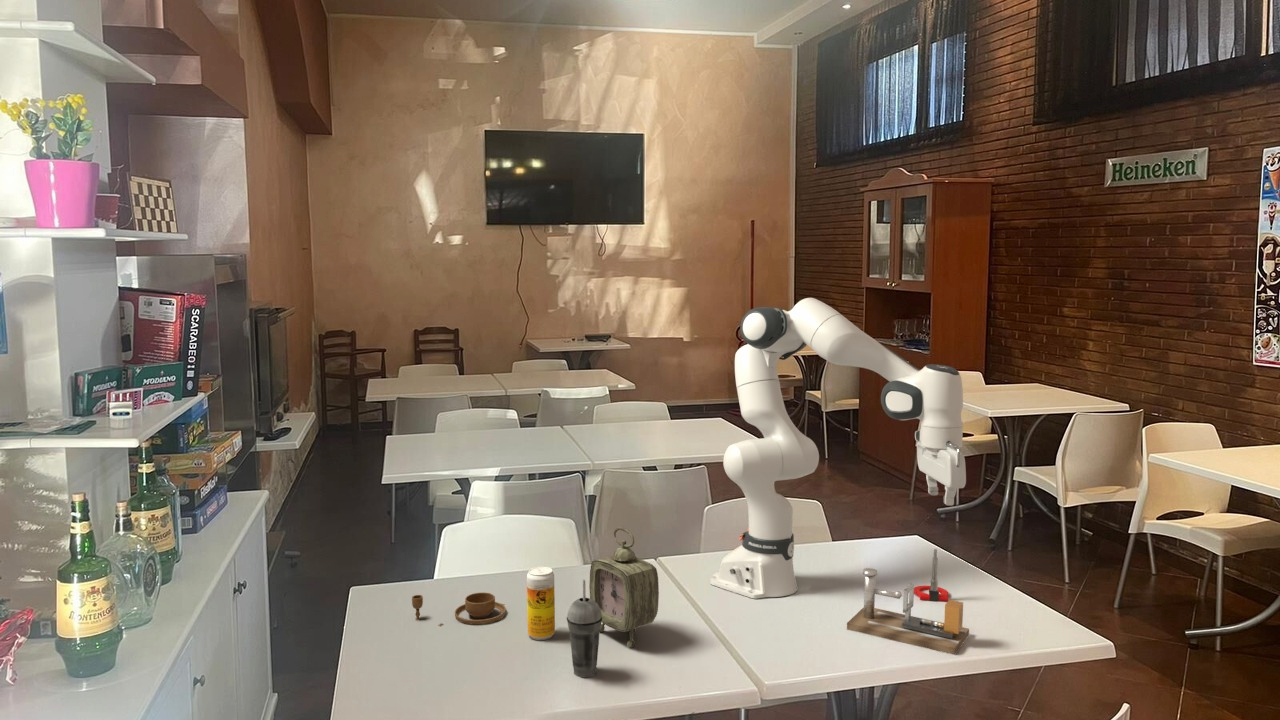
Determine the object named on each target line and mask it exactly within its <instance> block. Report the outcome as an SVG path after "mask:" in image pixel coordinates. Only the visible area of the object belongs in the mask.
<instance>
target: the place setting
mask: <svg viewBox="0 0 1280 720" xmlns="http://www.w3.org/2000/svg"><path fill="white" fill-rule="evenodd" d="M423 601H424V598H423V595H422V594H416V595H413V596H412V597H411V605H412V608H413V609H415V616H416V617H415V620H416V621H417V620H421V617H420V615H421V612H420V609H421V608H422V607H423V603H424V602H423ZM505 605H506V604H505V603H501V602H497V601H496V596H495V595H494V594H492V593H491V592H474V593H472V594H469V595H467V596H466V597H465V599H464V604H462V605H459V606H457V608H456V609H455V610H454V616H455V619H456V620H457V621H458V622H460V623H462V624H466V625H471V626H472V625H473V626H475V625H476V626H479V625H481V626H482V625H487V624H493V623H494V622H495V623H496V622H498V621H499V620H501V619H503V617H505V614H506V610H507V608H506V607H505ZM495 609H496V610H498V611H500V612H501V613H500V614H498V615H496V616H494V617H491V618H487V617H489V615H490V614H491V613H492V612H493V611H494V610H495ZM465 611H466V612H467V614H469V615H471V617H472V618H475V619H468V618H464V617H461V616H460V615H461V613H463V612H465ZM437 625H438V626H439V627H443V626H444V623H441V622H440V624H437Z"/></svg>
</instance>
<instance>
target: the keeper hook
mask: <svg viewBox="0 0 1280 720" xmlns="http://www.w3.org/2000/svg"><path fill="white" fill-rule="evenodd" d="M862 575H864V582H863V583H864V586H863V587H864V591H863V593H864V594H863V607H864V616H863V617H864V618H866V619H873V618H874V608H876V607H875V602H876V601H875V599H876V595H879V596H884V597H888V598H889V597H890V598H894V599H896V600H897V599H898V600H900V599H901V597H902V596H903V595H902V592H901V591H899V590H896V591H895V592H893V591H889V590H884V589H880V588H876V576H878V570H877V569H875V568H871V567H869V568H868V567H867V568H864V569H863V570H862Z"/></svg>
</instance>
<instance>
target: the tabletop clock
mask: <svg viewBox="0 0 1280 720" xmlns="http://www.w3.org/2000/svg"><path fill="white" fill-rule="evenodd" d="M618 531H621V532H622V531H623V532H625V533H626V534H628V535H629V536H630V538H631V540H632V541H631V544H627V540H625V539H623V540H621V541H620V540H619V538H617V532H618ZM613 539H614V541H615V542H616V543H617V544H618V545H619V546H621V547H617V549H616V550H614V552H613V553H612V555H610V556H609V555H608V556H607V557H603V558H598V559H595V560H592V562H591V565H590V569H589V570H590V571H589V598H590V599H592V600H594V601H595V602H596V603H597V604H598V605H599V607H600V610H601V614H602V621H601V627H600V632H599V633H602V632H604V631H605V629H606V628H605V626H607V627H608V628H611V629H613V630H616V631H618V632H623V633H624V632H628V633H629V640H628V641H627V647H629V648H633V647H634V646H635V644H636V643H635V641H634V639H633V637H634V634H635V633H636V629H637V628H639V627H643V626H646V625H649V624H652V623H653V622H654V620H655V619H656V617H657V614H658V612H659V602H660V600H659V598H660V591H659V590H660V589H659V575H658V570H657V567H656V566H655V565H653V564H652V563H650V562H648V561H646V560H644V559H642V558H639V557H637V556H636V554H635V552H634V550H633V549H632V547H633V546H634V545H635V537H634V535H633V534H632V532H631V531H630V530H629V529H627V528H626V527H622V526H619V527H616V528H615V529H614V531H613Z"/></svg>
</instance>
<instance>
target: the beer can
mask: <svg viewBox="0 0 1280 720" xmlns="http://www.w3.org/2000/svg"><path fill="white" fill-rule="evenodd" d="M555 598H556V597H555V573H554V571H553V569H552V568H551V567H549V566H535V567H532V568H530V569H528V573H527V575H526V605H527V606H526V609H527V610H526V611H527V613H526V614H527V618H526V619H527V620H526V621H527V635H529V637H530V638H531V639H533V640H536V641H543V640H544V641H545V640H549V639H550V638H552V637H553V635H554V634H555V631H556V617H555V616H556V615H555V614H556V611H555V609H556V608H555V604H556V603H555V600H556V599H555Z"/></svg>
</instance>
